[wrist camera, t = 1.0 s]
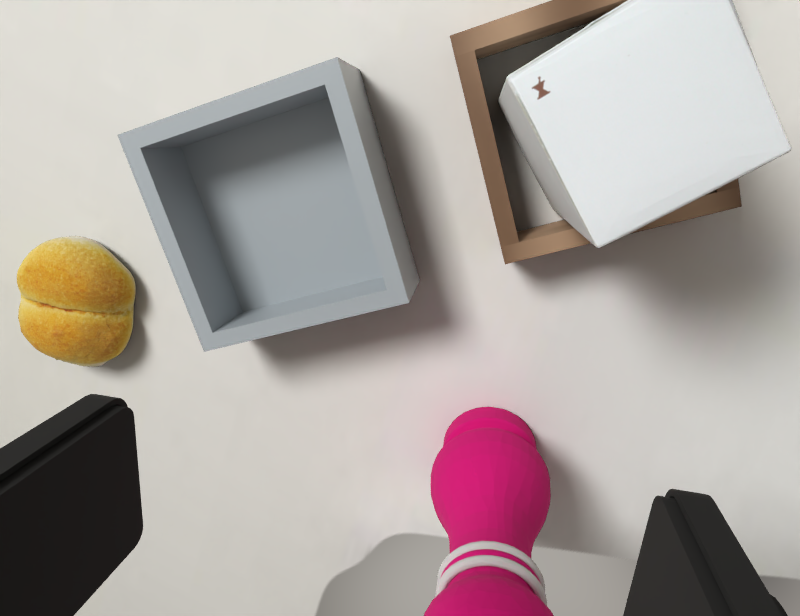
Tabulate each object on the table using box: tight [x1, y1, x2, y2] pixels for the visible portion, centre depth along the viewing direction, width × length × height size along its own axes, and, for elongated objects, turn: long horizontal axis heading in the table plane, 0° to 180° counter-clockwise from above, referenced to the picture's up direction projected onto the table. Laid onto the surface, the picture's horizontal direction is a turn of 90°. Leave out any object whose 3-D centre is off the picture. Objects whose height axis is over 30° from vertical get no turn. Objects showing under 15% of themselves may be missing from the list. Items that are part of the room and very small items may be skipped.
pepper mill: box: [424, 407, 553, 616], centre depth 28 cm, size 7×7×20 cm
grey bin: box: [118, 57, 420, 352], centre depth 32 cm, size 13×13×5 cm
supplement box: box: [498, 0, 792, 248], centre depth 25 cm, size 7×7×13 cm
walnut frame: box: [450, 0, 741, 264], centre depth 29 cm, size 12×12×4 cm
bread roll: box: [17, 236, 136, 367], centre depth 37 cm, size 8×9×4 cm
